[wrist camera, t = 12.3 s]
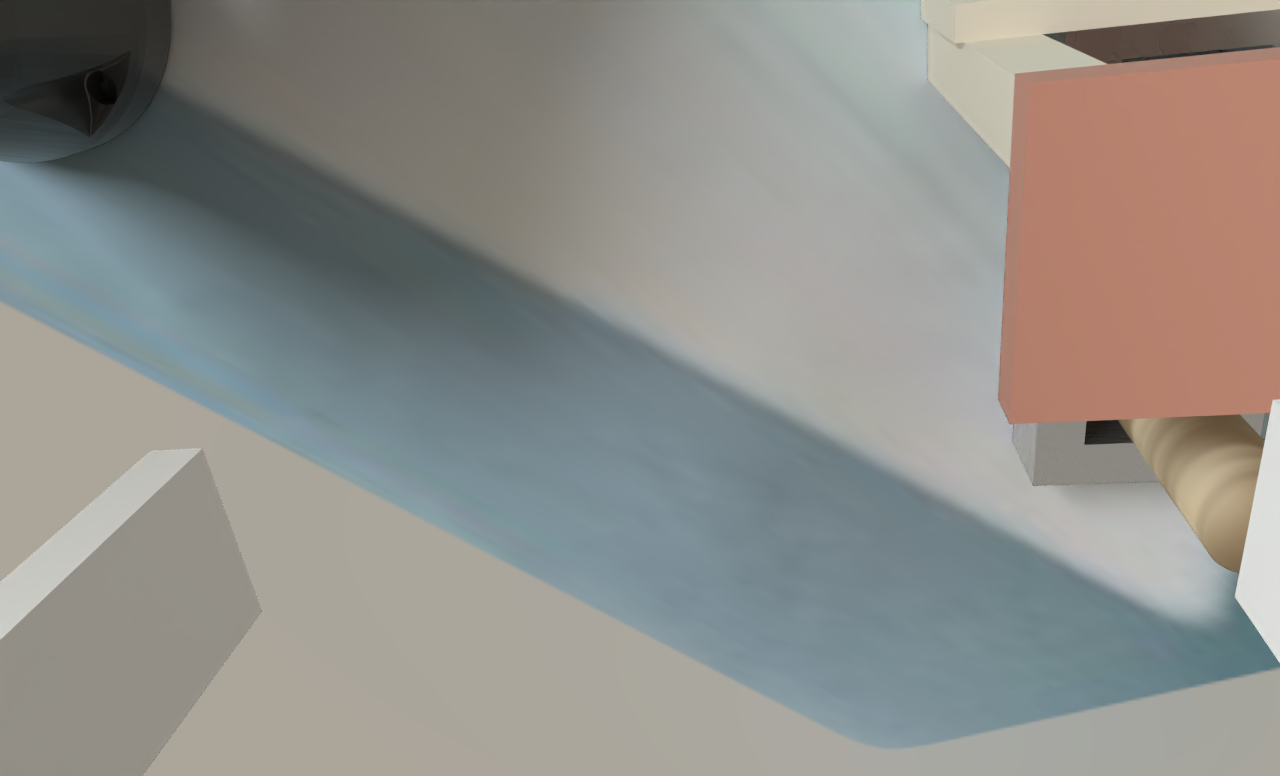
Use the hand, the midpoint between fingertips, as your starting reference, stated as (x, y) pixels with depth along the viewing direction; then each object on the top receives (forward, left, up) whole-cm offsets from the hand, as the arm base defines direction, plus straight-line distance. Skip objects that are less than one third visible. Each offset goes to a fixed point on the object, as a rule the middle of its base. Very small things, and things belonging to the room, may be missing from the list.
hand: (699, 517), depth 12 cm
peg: (+16, -13, -32) cm, 38 cm away
